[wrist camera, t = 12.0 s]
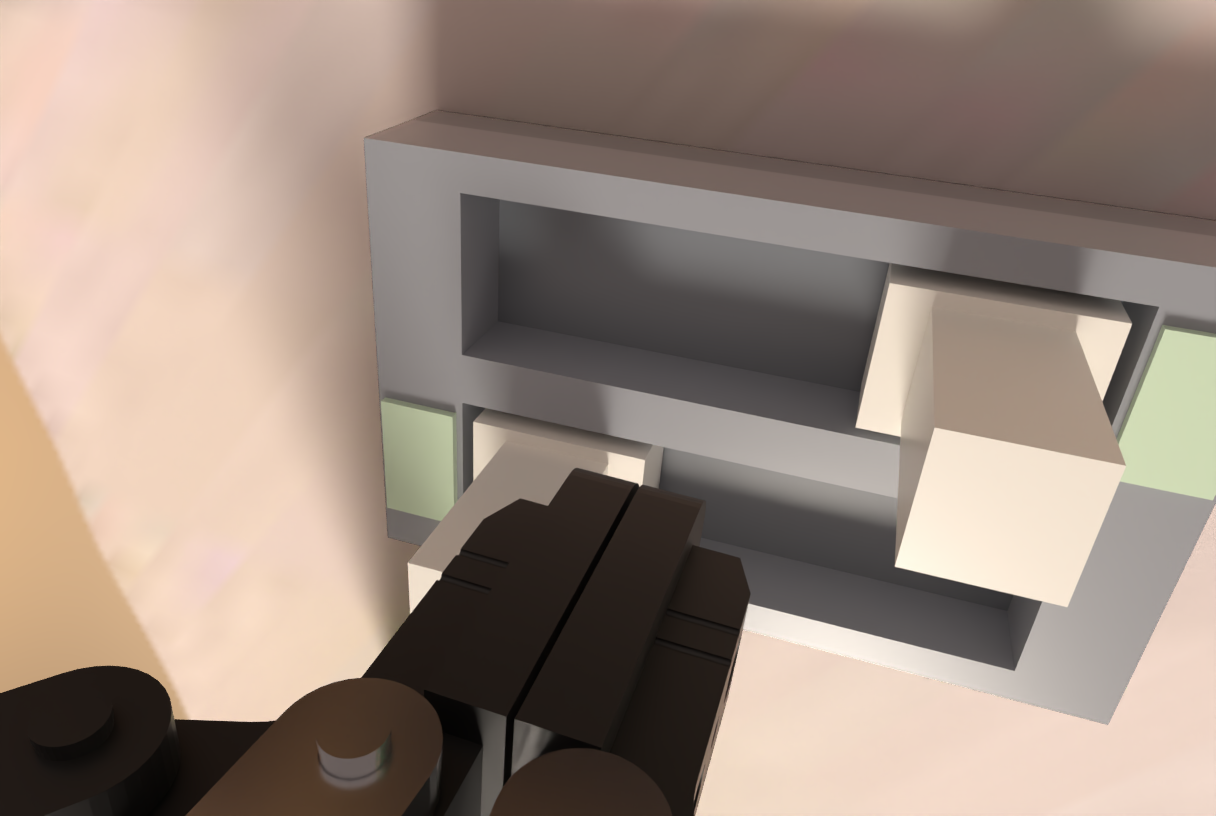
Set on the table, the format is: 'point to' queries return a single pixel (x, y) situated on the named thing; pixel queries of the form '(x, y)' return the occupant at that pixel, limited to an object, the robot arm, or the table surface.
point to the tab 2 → (996, 426)
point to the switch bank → (779, 371)
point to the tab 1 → (524, 479)
